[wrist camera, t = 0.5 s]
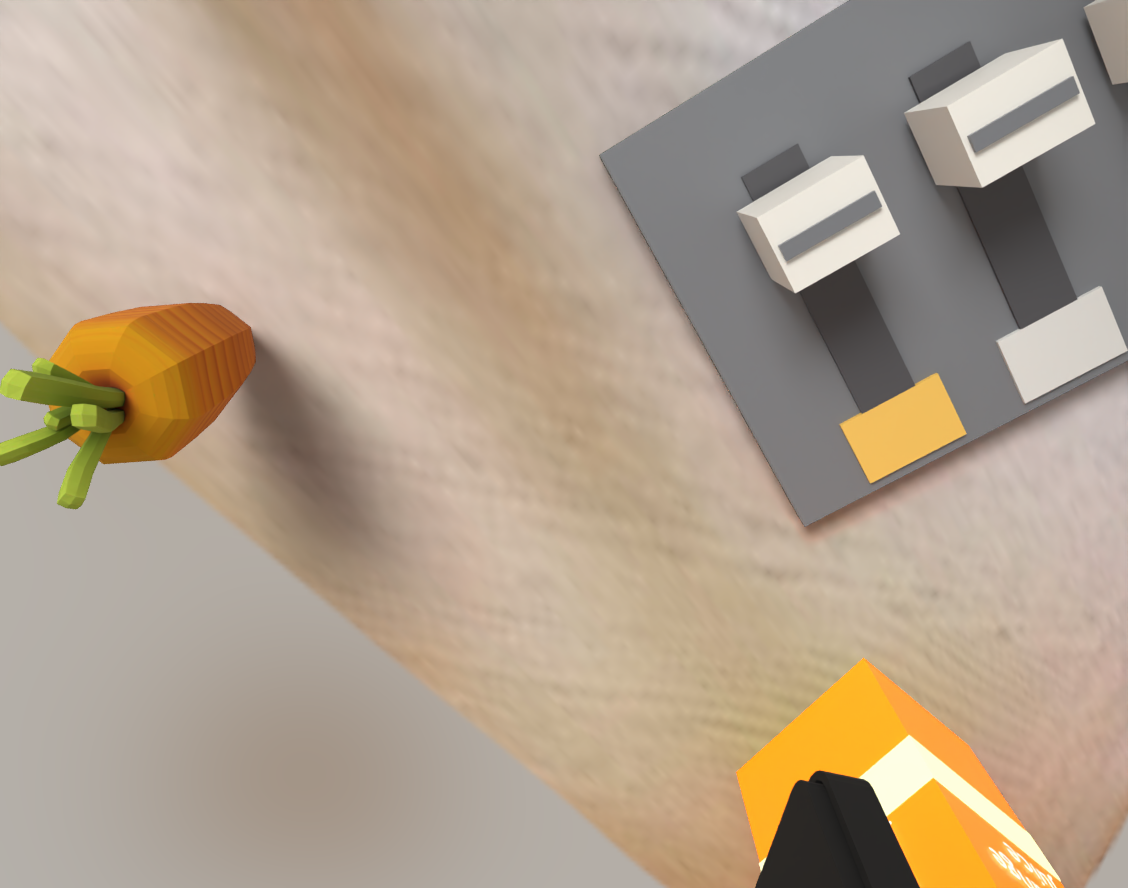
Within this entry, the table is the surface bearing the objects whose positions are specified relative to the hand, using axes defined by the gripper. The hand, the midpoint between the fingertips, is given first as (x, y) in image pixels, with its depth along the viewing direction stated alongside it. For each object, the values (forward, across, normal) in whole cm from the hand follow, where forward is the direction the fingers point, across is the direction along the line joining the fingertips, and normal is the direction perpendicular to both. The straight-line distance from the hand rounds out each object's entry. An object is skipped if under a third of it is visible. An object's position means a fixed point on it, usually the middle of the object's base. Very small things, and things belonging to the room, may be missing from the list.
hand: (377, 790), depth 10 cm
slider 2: (+28, -15, -12) cm, 33 cm away
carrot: (+29, +12, +3) cm, 31 cm away
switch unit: (+29, -17, -10) cm, 35 cm away
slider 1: (+28, -10, -7) cm, 30 cm away
